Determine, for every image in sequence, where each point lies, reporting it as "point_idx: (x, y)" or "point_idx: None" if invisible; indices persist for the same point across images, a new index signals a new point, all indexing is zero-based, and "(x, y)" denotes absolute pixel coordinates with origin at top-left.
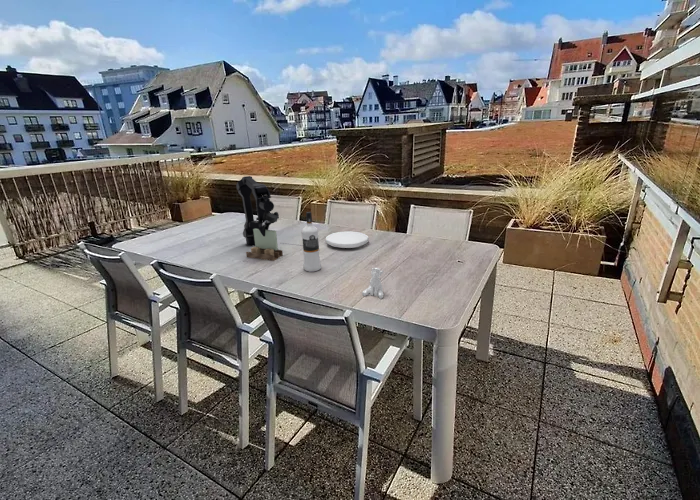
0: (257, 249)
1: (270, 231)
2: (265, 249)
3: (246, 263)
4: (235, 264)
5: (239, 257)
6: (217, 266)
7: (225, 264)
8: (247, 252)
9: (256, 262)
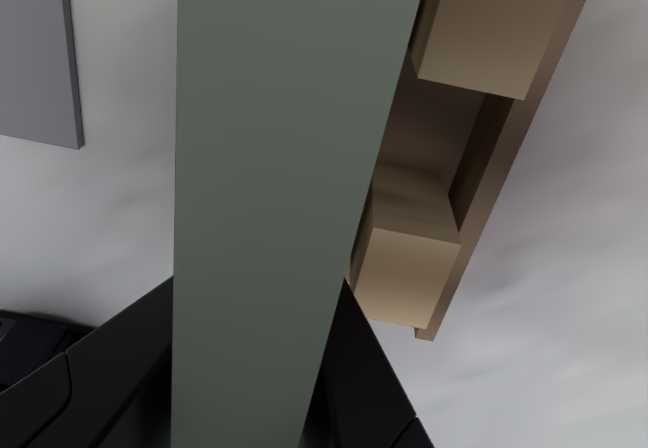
0: (441, 234)
1: (374, 134)
2: None
3: (571, 238)
4: (585, 324)
5: (386, 352)
6: (611, 425)
7: (570, 392)
8: (440, 324)
9: (551, 140)
